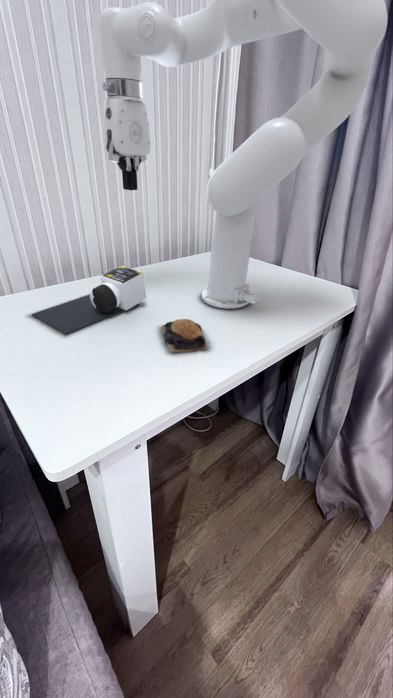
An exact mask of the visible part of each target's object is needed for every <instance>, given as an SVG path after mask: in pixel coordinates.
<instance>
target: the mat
mask: <svg viewBox="0 0 393 698" xmlns="http://www.w3.org/2000/svg"><path fill="white" fill-rule="evenodd" d="M138 306H139V303H138V304H136V305H135V306H133V307H132V308H131V309H133V308H136V307H138ZM125 311H127V310H124V309H121V308H119V307H116V308H114V309H112V310H111V311H109V312H107V313H101V312H99V311H98V310H97V309H96V308H95V307H94V305H93V304H92V302H91V299H90V294H87V295H83V296H81V297H78V298H75V299H72V300H69V301H66V302H63V303H60V304H58V305H55V306H51V307H49V308H46V309H43V310H40V311H37V312H34V313H31V317H34V318H35V319H37V320H38V321H41V322H43V324H45V325H47V326H49V327H51V328H53V329H55V330H56V331H58V332H59V333H62V334H63V335H65V336H67V335H69V334H72V333H74V332H76V331H79V330H82V329H85V328H87V327H90V326H92V325H93V324H96V323H98V322H101V321H104V320H107V319H108V318H111V317H114V316H117V315H118V314H120V313H124V312H125Z"/></svg>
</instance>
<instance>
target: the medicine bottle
mask: <svg viewBox="0 0 393 698" xmlns="http://www.w3.org/2000/svg"><path fill="white" fill-rule="evenodd" d="M100 281H101V284H99V285H97V286H96V287H94V288H91V290H90V292H89V295H90V299H91V302H92V304H93V305H94V307H95V308H96V309H97V310H98V311H99V312H101V313H107V312H109V311H111V310H112V309H114V308H116V307H119V308H121V309H124V310H126V311H128V310H131V309H133V308H134V307H133V306H135V305H136V304H138V305H139V304H140V303H141V302H143V301H145V300H146V299H147V291H146V286H145V285H146V284H145V276H144V272H143V271H140V270H137V269H134V268H131V267H127V266H125V265H121V266H118V267H117V268H114V269H112V270H111V271H107V272H106V273H104V274H102V275H101V276H100ZM132 307H133V308H132ZM135 307H136V306H135Z"/></svg>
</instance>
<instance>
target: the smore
mask: <svg viewBox="0 0 393 698" xmlns="http://www.w3.org/2000/svg"><path fill="white" fill-rule="evenodd" d="M161 329H162V334H163V339H164V341H165V343H166V346H167V347H168V349H169V352H171V353H172V354H173V353H175V354H178V353H188V352H196V351H204V350H208V345H207V342H206V338H205V337H204V336H203V329H202V326H201V325H200V324H199V323H197V322H195V321H194V320H192V319H189V318H180V319H175V320H173V321H169V322H166V323H165V324H162V328H161Z"/></svg>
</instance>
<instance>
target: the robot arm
mask: <svg viewBox="0 0 393 698" xmlns="http://www.w3.org/2000/svg"><path fill="white" fill-rule="evenodd" d="M386 5H387V4H386V2H385V1H384V0H212V1H211V2H210V3H209V4H208V5H206V6H205V7H204V8H201V9H200V10H197V11H195V12H192V13H189V14H186V15H182V16H177V17H174V16H172V15H171V13H169V11H167V10H166V8H164V7H163V6H162V5H161V4H160V3H157V2H154V1H148V2H147V1H146V2H142V3H138V4H136V5H133V6H130V7H125V8H124V7H119V6H112V7H111V6H110V7H107V8H106V7H105V8H104V9H102V10H101V12H100V15H99V29H100V42H101V43H100V44H101V52H102V53H101V54H102V63H103V64H102V65H103V76H104V81H103V82H102V84H101V85H102V86H101V87H102V90H103V91H105V97H106V98H104V102H103V133H104V135H103V136H104V145H105V150H106V152H107V153H108V160H109V162H113V163H116V164H117V166H118V168H119V170H120V171H121V176H122V189H123V190H124V191H125V190H126V191H138V174H137V173H138V171H139V170H140V169H139V168H140V165H141V163H143V162H145V161H147V156H148V155H150V154H151V147H152V146H151V133H150V122H149V116H148V110H147V109H148V108H147V106H146V102H144V100H143V98H144V97H143V78H142V77H143V76H142V57H145V58H147V59H149V60H152V61H154V62H156V63H157V64H158V65H160V66H162V67H166V68H175V67H180V66H184V65H188V64H194V63H197V62H201V61H204V60H207V59H209V58H212V57H214V56H216V55H219V54H222V53H224V52H227V51H229V50H230V49H231V48H233V47H238V46H240V45H244V44H245V45H246V44H249V43H253V42H256V41H257V42H258V41H261V40H265V39H268V38H272V37H277V36H280V35H281V36H282V35H286V34H290V33H293V32H296V31H299V30H300V31H301V30H303V31H304V32H305V33H306V34H307V35H308V36H310V38H311V39H313V40H314V41H315V42H316V43H317V44H318V45H319V46H320V47H321V48H322V49H323V61H324V69H323V72H322V75H321V77H320V78H319V80H318V81H317V82H316V83H315V85H313V86H312V87H311V88H310V89H309V90H308V91H307V92H306V93H304V94H303V95H302V96H301V97H300V98H299V100H298V101H297V102H296V103H295V104H293V105H292V106H291V107H290V108H289V109H288V110H287V111H286V112H285V113H283V114H282V115H281V116H280V117H275V118H271V119H270V120H268V121H266V122H265V123H263V124H262V125H261V126H260V127H258V128H257V129H256V130H255V131H254V132H253V133H252V134H251V135H250V136H249V137H248V138H247V139H246V140H245V141H244V142H243V143H241V145H239V146H238V147H237V148H236V149H235V150H234V151H233V152H232V153H231V154H230V155H229V156H228V157H226V159H225V160H224V161H223V162H221V164H219V165H218V166H217V167H216V169H214V170H213V171H212V173H211V175H210V177H209V179H208V181H207V186H206V196H207V200H208V203H209V205H210V207H211V208H212V209H213V211H214V212H213V220H212V229H211V242H210V257H209V269H208V284H207V288H205V289H204V290H203V291H202V292H201V299H202V301H203V302H204V303H205V304H207V305H209V306H211V307H215V308H219V309H240V308H243V307H246V306H247V305H249V304H253V305H255V304H256V303H257V301H258V293H257V292H254V291H250V284H248V283H247V277H248V272H249V271H248V269H249V263H250V257H251V256H250V255H251V247H252V240H253V234H254V226H255V221H256V213H257V207H258V201H259V200H260V199H261V198H263V196H265V195H266V194H267V193H268V192H270V191H271V190H272V189H273V188H274V187H276V186H277V185H278V184H279V183H280V182H281V181H283V180H284V179H285V178H287V177H288V176H289V175H290V174H291V173H292V172H293V171H294V170H295V169H296V168H297V167H298V166H299V164H300V162H301V161H302V159H303V158H304V157H306V155H307V154H308V153H310V152H311V151H312V150H313V149H314V148H315V147H317V146H318V145H319V144H320V143H321V142H323V141H324V140H325V139H326V138H327V137H328V136H329V135H330V134H331V133H332V132H334V131H335V130H336V129H337V128H338V127H339V126H340V125H341V124H342V123H344V122H345V121H346V120H347V118H349V116H350V115H351V114H352V113H353V111H354V110H355V109H356V107H357V106H358V104H359V102H360V101H361V100H362V97H363V95H364V93H365V91H366V88H367V85H368V82H369V79H370V74H371V71H372V70H371V69H372V62H373V56H374V55H375V53H376V52H377V50H378V49H379V47H380V46H381V44H382V43H383V42H382V41H383V39H384V38H385V35H386V31H387V26H388V10H387V6H386Z"/></svg>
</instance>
